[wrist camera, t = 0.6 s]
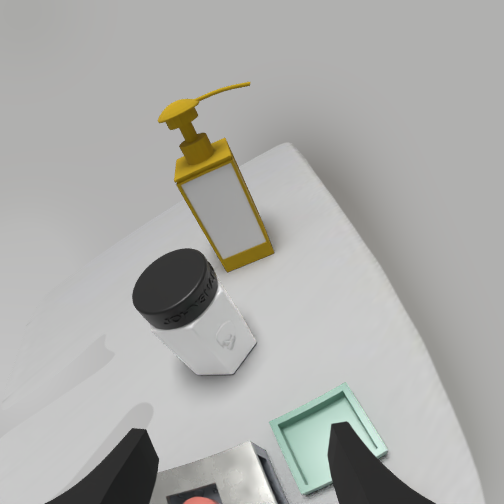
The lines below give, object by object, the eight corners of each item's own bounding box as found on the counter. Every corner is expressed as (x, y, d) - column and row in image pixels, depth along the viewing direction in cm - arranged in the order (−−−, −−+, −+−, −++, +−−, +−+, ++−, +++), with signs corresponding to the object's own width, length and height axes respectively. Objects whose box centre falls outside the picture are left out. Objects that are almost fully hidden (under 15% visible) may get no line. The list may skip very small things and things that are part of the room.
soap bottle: (310, 238, 44) (251, 73, 29) (227, 272, 45) (142, 122, 30) (296, 212, 49) (241, 69, 35) (222, 243, 51) (150, 110, 36)
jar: (223, 391, 31) (159, 331, 24) (176, 361, 36) (115, 300, 29) (269, 328, 35) (227, 253, 28) (220, 307, 40) (173, 238, 33)
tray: (387, 453, 20) (387, 449, 19) (306, 495, 20) (301, 494, 19) (347, 389, 26) (345, 382, 25) (275, 427, 26) (269, 421, 25)
